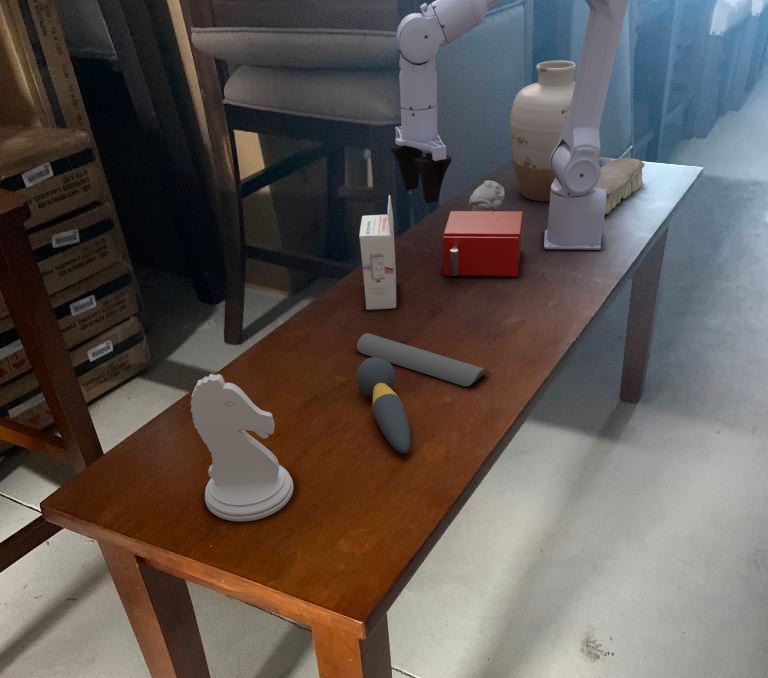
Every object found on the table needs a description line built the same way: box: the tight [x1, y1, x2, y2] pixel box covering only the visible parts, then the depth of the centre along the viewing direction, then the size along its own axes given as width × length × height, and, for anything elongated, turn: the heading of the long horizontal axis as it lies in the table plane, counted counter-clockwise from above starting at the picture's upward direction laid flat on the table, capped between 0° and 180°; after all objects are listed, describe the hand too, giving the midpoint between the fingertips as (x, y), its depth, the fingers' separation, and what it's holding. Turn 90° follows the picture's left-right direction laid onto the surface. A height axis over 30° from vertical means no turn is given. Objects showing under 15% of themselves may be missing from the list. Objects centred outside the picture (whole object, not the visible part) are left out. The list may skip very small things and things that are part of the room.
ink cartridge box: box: [358, 194, 397, 311], centre depth 118 cm, size 9×5×15 cm, turn 179°
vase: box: [509, 59, 577, 202], centre depth 147 cm, size 16×16×23 cm
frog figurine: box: [468, 179, 505, 211], centre depth 143 cm, size 6×7×7 cm
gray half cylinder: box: [356, 332, 488, 387], centre depth 105 cm, size 4×20×2 cm, turn 53°
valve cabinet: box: [443, 210, 523, 277], centre depth 128 cm, size 12×10×7 cm
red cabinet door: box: [442, 235, 518, 277], centre depth 123 cm, size 12×4×6 cm, turn 80°
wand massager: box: [356, 356, 411, 454], centre depth 95 cm, size 20×5×5 cm, turn 17°
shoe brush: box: [595, 157, 645, 215], centre depth 148 cm, size 24×8×5 cm, turn 147°
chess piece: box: [190, 373, 294, 522], centre depth 81 cm, size 10×10×15 cm
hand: (421, 195), depth 129 cm, fingers open, 7 cm apart
